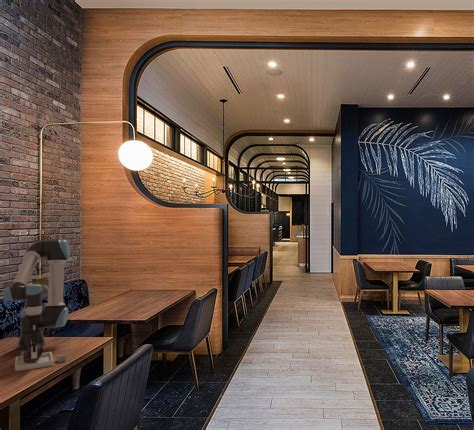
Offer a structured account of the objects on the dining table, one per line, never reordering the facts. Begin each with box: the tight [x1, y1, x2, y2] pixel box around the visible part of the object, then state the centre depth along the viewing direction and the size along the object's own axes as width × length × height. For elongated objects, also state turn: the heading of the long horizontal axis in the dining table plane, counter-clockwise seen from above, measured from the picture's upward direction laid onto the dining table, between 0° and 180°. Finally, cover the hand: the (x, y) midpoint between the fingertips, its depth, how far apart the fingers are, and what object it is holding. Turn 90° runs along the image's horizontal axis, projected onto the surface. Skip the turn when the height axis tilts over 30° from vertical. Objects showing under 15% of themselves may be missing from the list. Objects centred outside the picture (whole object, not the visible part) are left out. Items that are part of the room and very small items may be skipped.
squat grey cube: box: [55, 353, 67, 363], centre depth 224 cm, size 4×4×3 cm
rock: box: [23, 343, 44, 363], centre depth 220 cm, size 12×9×10 cm
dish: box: [14, 351, 54, 372], centre depth 220 cm, size 18×18×2 cm
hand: (34, 354), depth 220 cm, fingers closed on rock, 12 cm apart
